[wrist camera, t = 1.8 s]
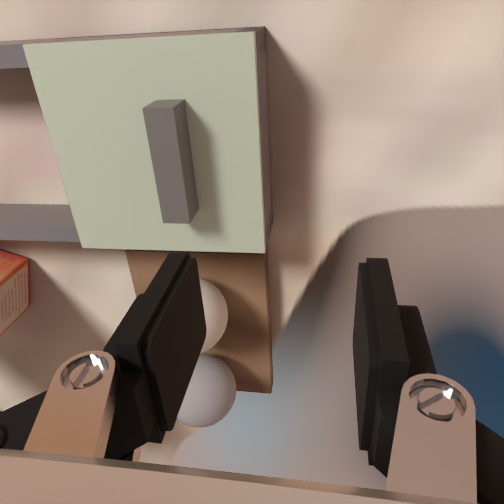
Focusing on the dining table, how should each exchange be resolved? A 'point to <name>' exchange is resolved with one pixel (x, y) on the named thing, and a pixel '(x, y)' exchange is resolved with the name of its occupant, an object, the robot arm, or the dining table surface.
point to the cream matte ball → (213, 313)
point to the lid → (157, 139)
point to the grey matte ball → (208, 393)
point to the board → (238, 304)
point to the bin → (60, 216)
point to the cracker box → (13, 288)
